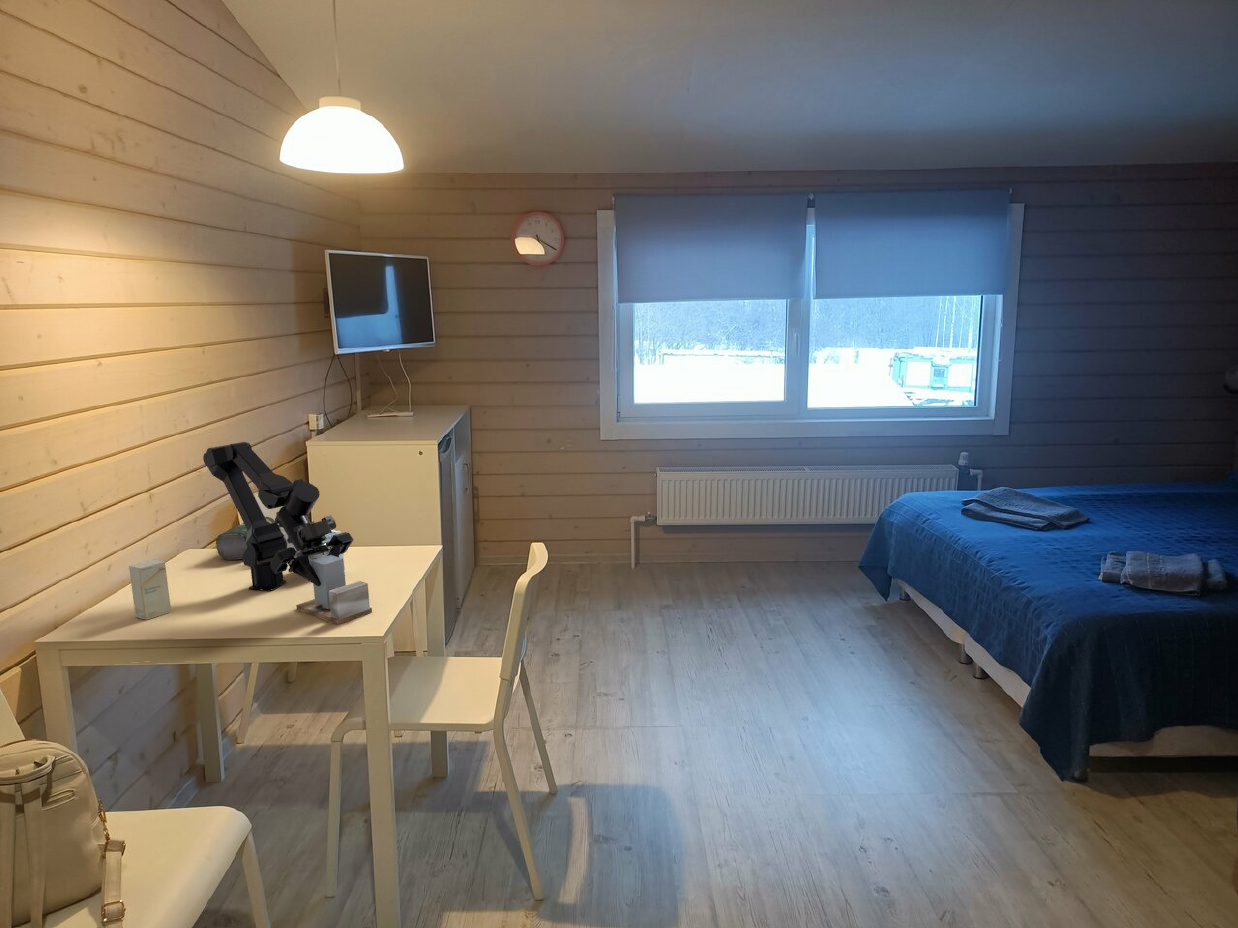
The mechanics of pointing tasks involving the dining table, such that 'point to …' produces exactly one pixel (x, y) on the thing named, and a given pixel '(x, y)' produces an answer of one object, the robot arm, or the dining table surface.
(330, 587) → the blue-gray square block
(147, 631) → the dining table surface
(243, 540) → the coffee jar
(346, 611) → the block on stand
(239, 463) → the robot arm
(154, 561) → the skincare box
